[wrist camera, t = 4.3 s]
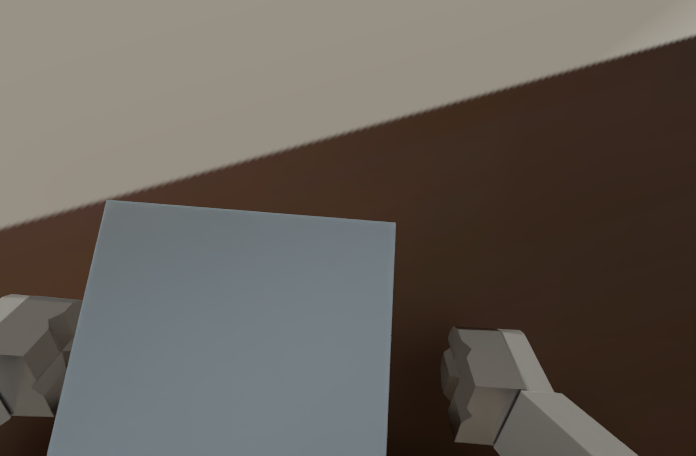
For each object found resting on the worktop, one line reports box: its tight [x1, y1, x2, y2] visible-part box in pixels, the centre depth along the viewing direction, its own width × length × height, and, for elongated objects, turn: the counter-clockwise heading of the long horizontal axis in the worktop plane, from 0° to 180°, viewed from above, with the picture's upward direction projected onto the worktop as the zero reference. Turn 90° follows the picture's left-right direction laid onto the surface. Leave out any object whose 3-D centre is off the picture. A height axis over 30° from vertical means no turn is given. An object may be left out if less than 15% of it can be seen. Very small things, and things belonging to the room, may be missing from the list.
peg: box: [47, 200, 396, 456], centre depth 10 cm, size 4×4×10 cm
